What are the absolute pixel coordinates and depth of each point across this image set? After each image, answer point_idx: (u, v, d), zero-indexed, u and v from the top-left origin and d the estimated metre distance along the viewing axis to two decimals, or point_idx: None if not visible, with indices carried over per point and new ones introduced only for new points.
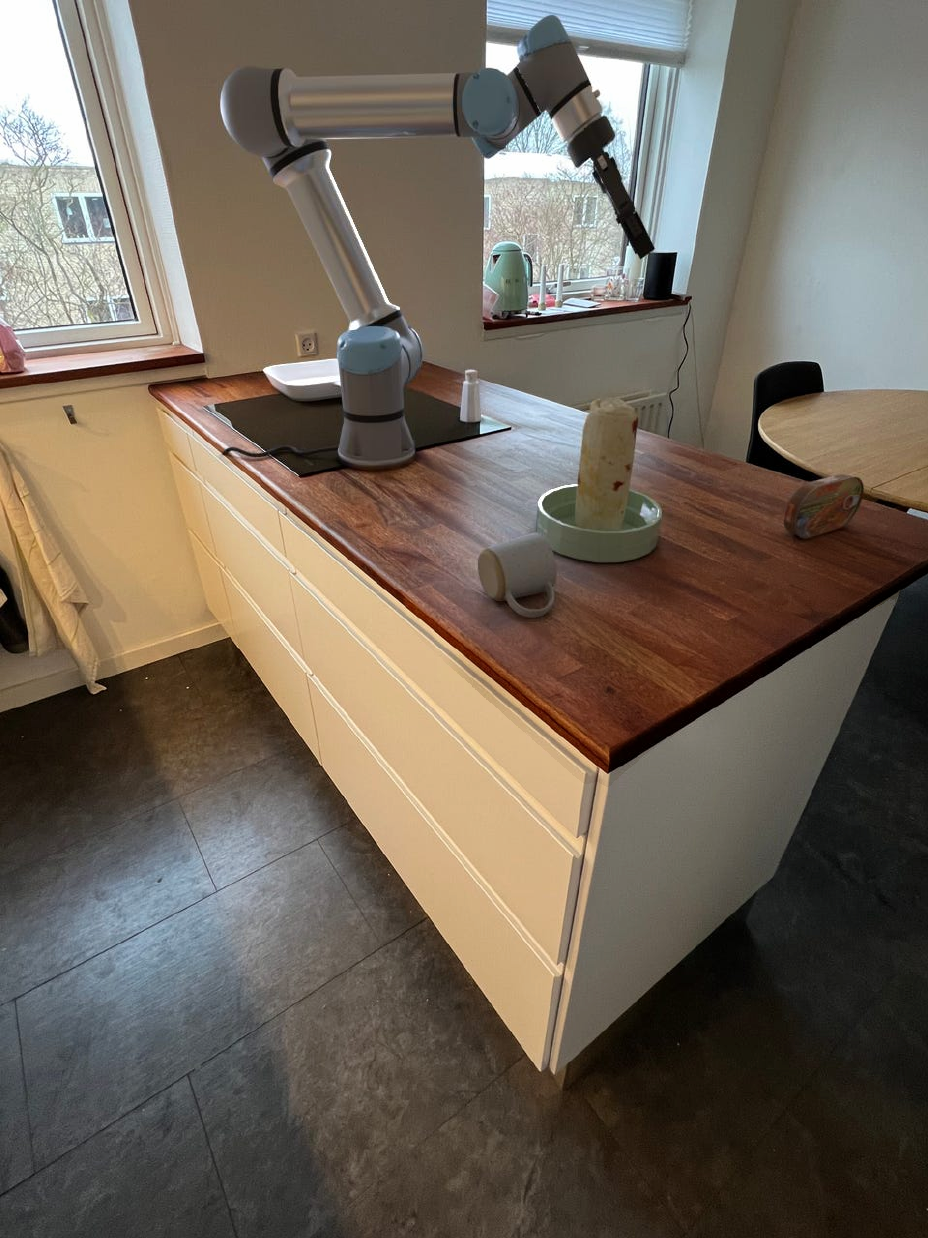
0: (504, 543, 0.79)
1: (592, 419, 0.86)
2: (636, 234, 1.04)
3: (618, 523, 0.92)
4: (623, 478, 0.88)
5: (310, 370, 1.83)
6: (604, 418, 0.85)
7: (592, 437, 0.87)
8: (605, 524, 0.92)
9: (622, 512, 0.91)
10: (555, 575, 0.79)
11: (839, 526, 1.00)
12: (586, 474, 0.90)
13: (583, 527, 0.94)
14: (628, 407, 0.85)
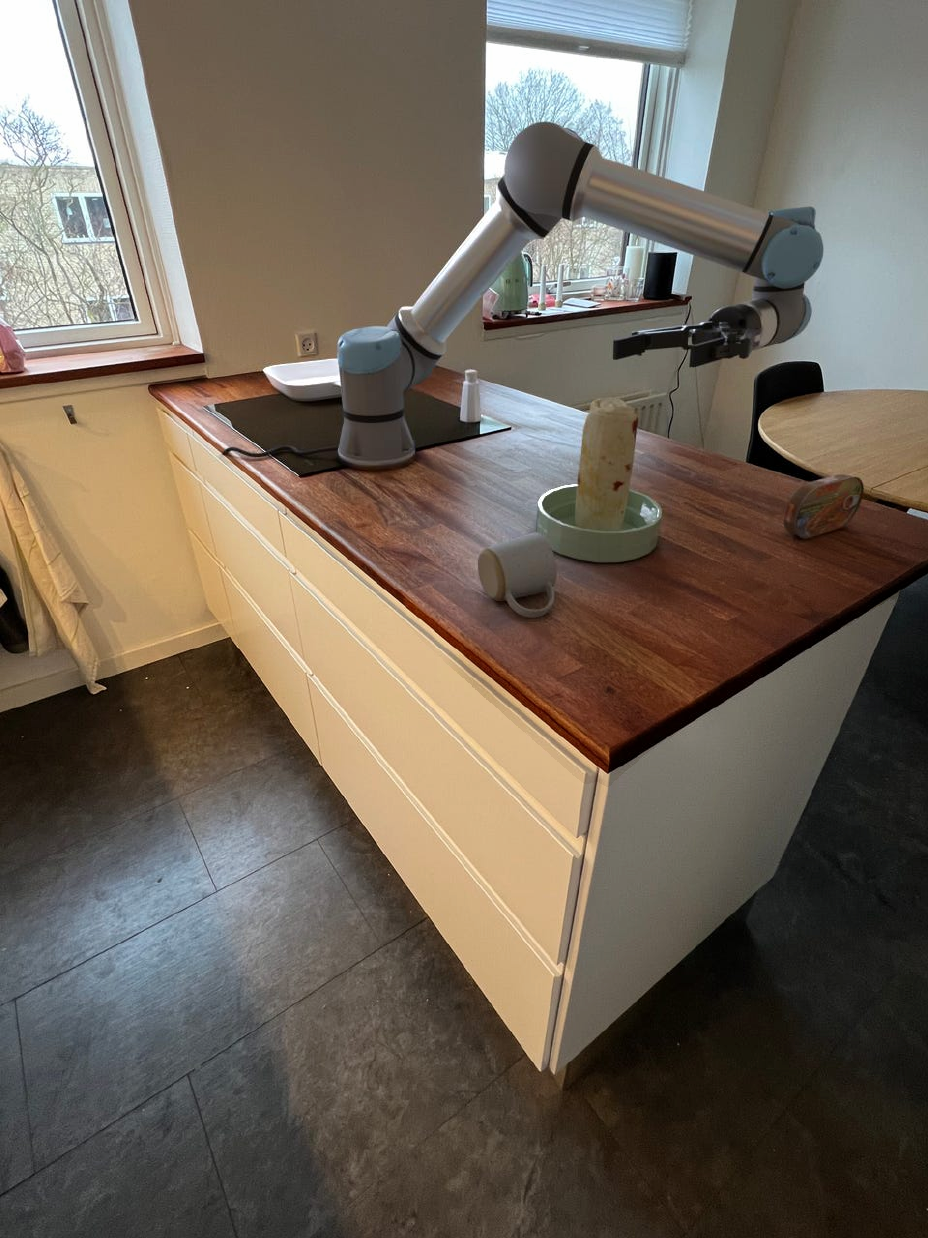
0: (504, 543, 0.79)
1: (592, 419, 0.86)
2: (718, 350, 0.86)
3: (618, 523, 0.92)
4: (623, 478, 0.88)
5: (310, 370, 1.83)
6: (604, 418, 0.85)
7: (592, 437, 0.87)
8: (605, 524, 0.92)
9: (622, 512, 0.91)
10: (555, 575, 0.79)
11: (839, 526, 1.00)
12: (586, 474, 0.90)
13: (583, 527, 0.94)
14: (628, 407, 0.85)
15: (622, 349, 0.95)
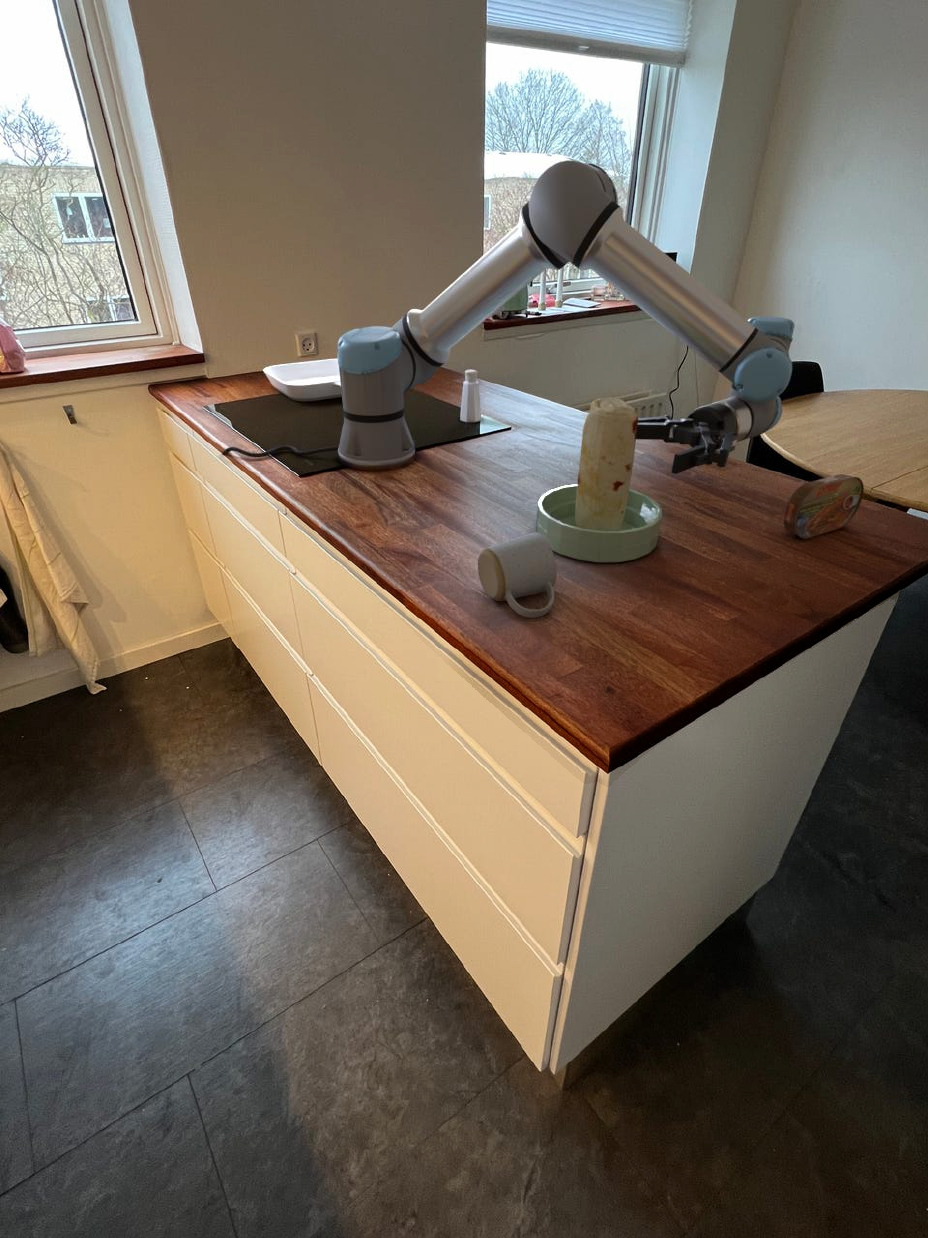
0: (504, 543, 0.79)
1: (592, 419, 0.86)
2: (699, 459, 0.91)
3: (618, 523, 0.92)
4: (623, 478, 0.88)
5: (310, 370, 1.83)
6: (604, 418, 0.85)
7: (592, 437, 0.87)
8: (605, 524, 0.92)
9: (622, 512, 0.91)
10: (555, 575, 0.79)
11: (839, 526, 1.00)
12: (586, 474, 0.90)
13: (583, 527, 0.94)
14: (628, 407, 0.85)
15: None
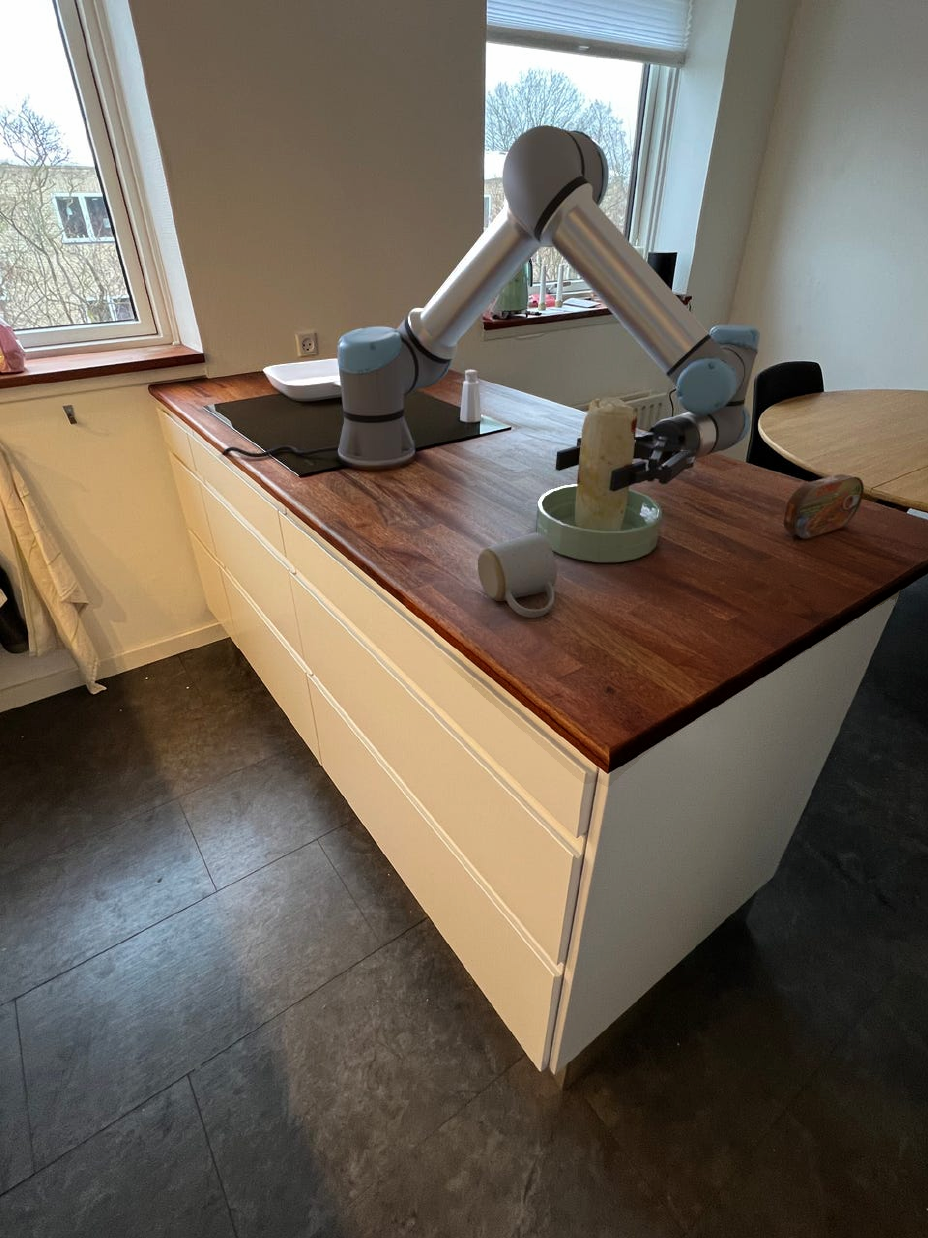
0: (504, 543, 0.79)
1: (591, 419, 0.86)
2: (638, 476, 0.86)
3: (618, 523, 0.92)
4: None
5: (310, 370, 1.83)
6: (603, 418, 0.85)
7: (591, 437, 0.87)
8: (605, 524, 0.92)
9: (622, 511, 0.91)
10: (555, 575, 0.79)
11: (839, 526, 1.00)
12: (585, 474, 0.90)
13: (583, 527, 0.94)
14: (627, 407, 0.85)
15: (565, 460, 0.92)
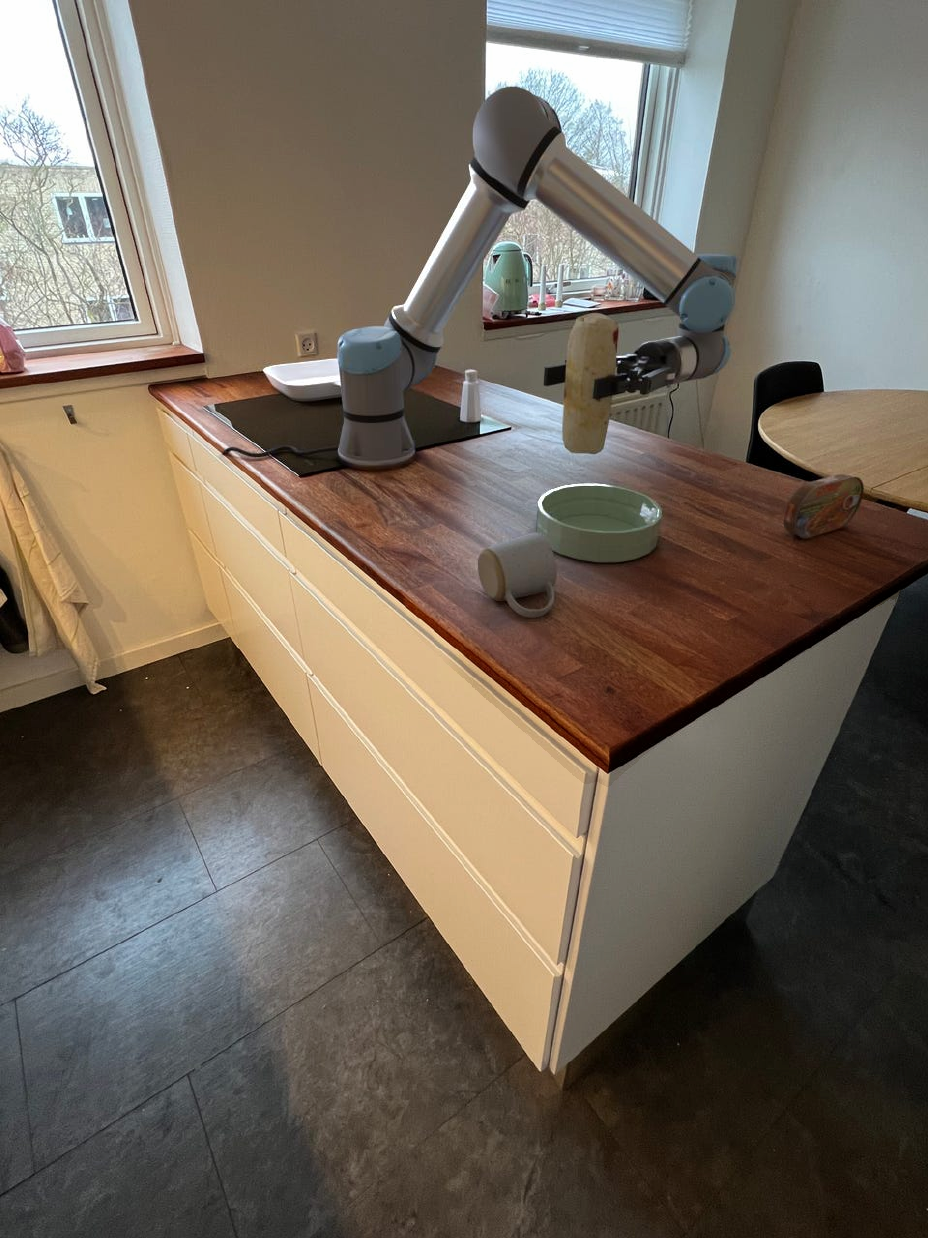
0: (504, 543, 0.79)
1: (576, 332, 0.92)
2: (619, 385, 0.92)
3: (602, 434, 0.98)
4: None
5: (310, 370, 1.83)
6: (586, 329, 0.91)
7: (576, 350, 0.93)
8: (589, 435, 0.98)
9: (606, 422, 0.97)
10: (555, 575, 0.79)
11: (839, 526, 1.00)
12: (571, 387, 0.96)
13: (570, 441, 1.00)
14: (609, 319, 0.91)
15: (553, 376, 0.99)
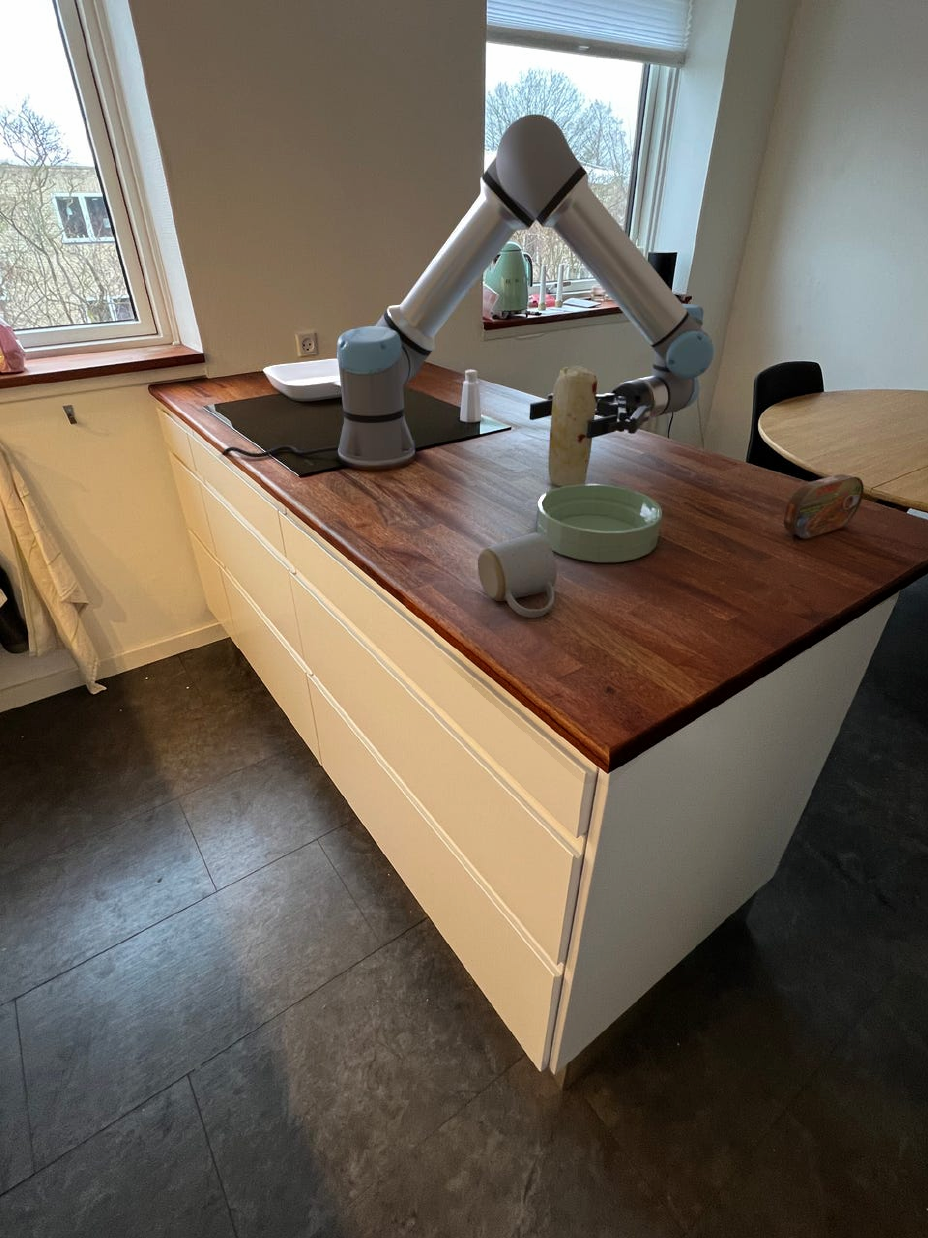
0: (504, 543, 0.79)
1: (560, 383, 1.06)
2: (610, 426, 1.05)
3: (583, 471, 1.11)
4: (586, 432, 1.07)
5: (310, 370, 1.83)
6: (569, 381, 1.04)
7: (560, 398, 1.06)
8: (572, 471, 1.11)
9: (586, 460, 1.10)
10: (555, 575, 0.79)
11: (839, 526, 1.00)
12: (556, 429, 1.09)
13: (555, 475, 1.14)
14: (589, 372, 1.04)
15: (537, 411, 1.13)
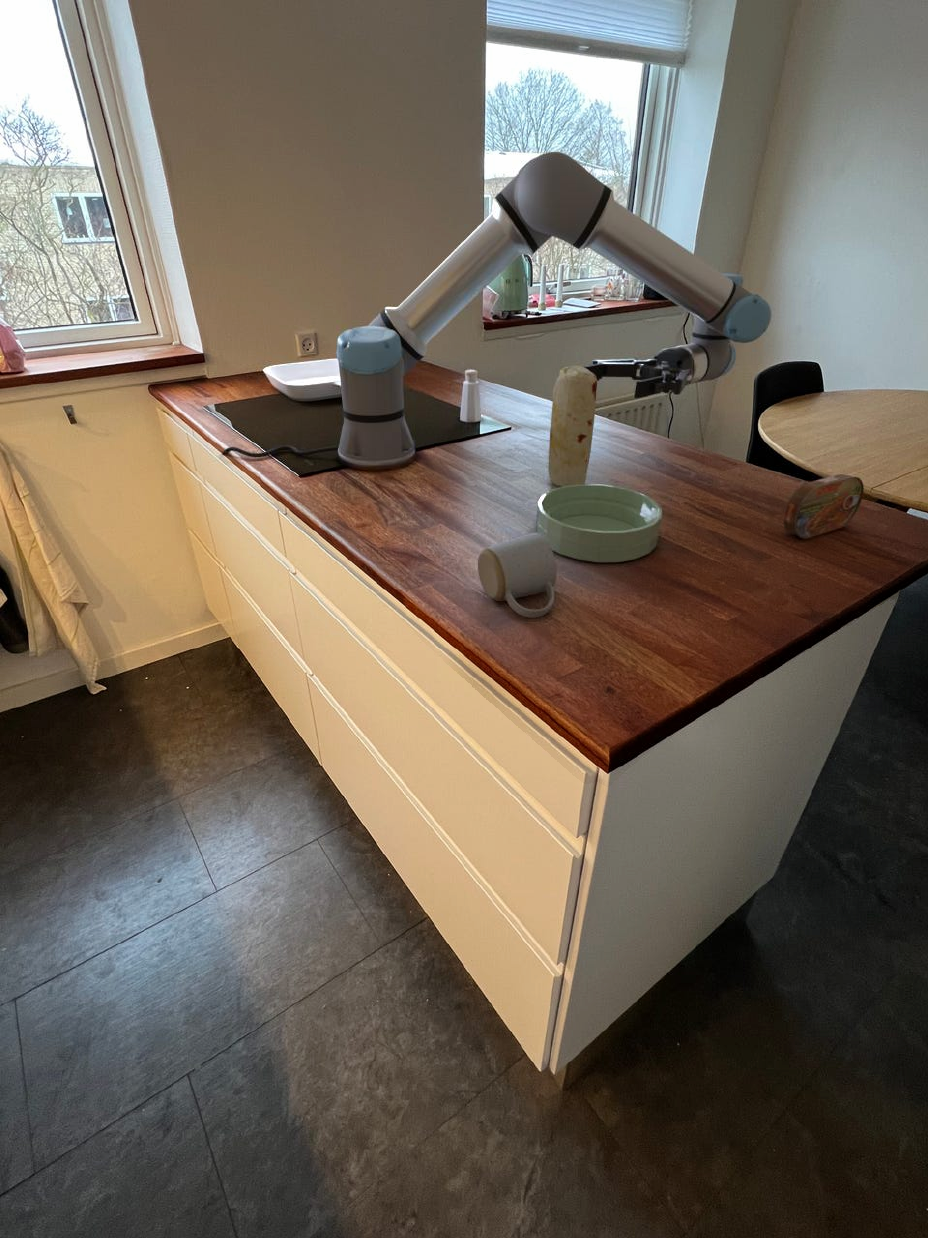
0: (504, 543, 0.79)
1: (560, 383, 1.06)
2: (657, 386, 1.09)
3: (583, 471, 1.11)
4: (586, 432, 1.07)
5: (310, 370, 1.83)
6: (569, 381, 1.04)
7: (560, 398, 1.06)
8: (572, 471, 1.11)
9: (586, 460, 1.10)
10: (555, 575, 0.79)
11: (839, 526, 1.00)
12: (556, 429, 1.09)
13: (555, 475, 1.14)
14: (589, 372, 1.04)
15: None
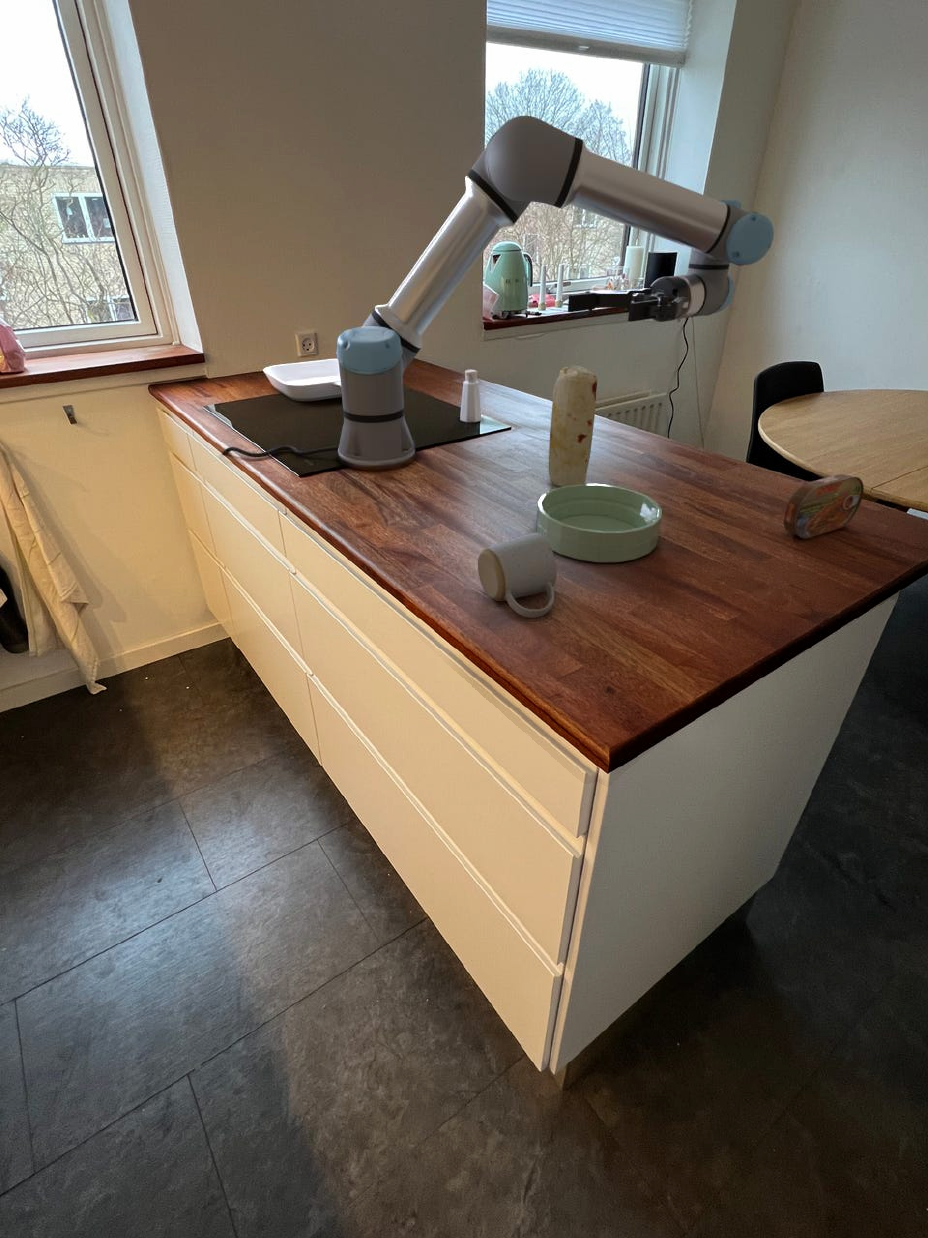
0: (504, 543, 0.79)
1: (560, 383, 1.06)
2: (652, 309, 1.05)
3: (583, 471, 1.11)
4: (586, 432, 1.07)
5: (310, 370, 1.83)
6: (569, 381, 1.04)
7: (560, 398, 1.06)
8: (572, 471, 1.11)
9: (586, 460, 1.10)
10: (555, 575, 0.79)
11: (839, 526, 1.00)
12: (556, 429, 1.09)
13: (555, 475, 1.14)
14: (589, 372, 1.04)
15: (576, 303, 1.13)
